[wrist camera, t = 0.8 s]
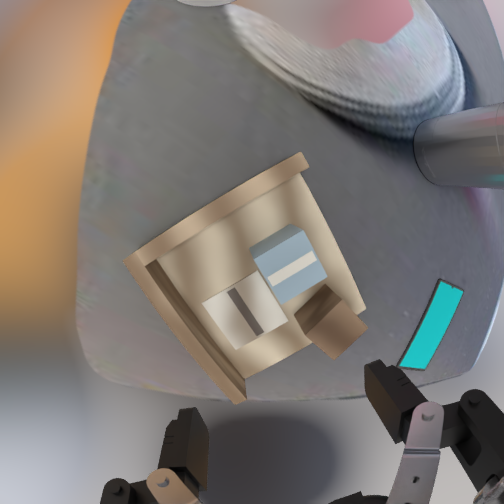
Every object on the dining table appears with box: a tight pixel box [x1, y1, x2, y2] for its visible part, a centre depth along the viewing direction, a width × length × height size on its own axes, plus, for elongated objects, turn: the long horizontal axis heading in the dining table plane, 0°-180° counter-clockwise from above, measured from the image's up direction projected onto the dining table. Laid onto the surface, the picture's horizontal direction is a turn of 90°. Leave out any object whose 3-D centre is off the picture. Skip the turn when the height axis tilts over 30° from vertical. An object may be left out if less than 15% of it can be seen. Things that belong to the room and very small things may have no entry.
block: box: [249, 224, 328, 305], centre depth 27 cm, size 5×5×5 cm
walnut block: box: [294, 284, 368, 360], centre depth 29 cm, size 5×5×5 cm
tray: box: [123, 152, 366, 405], centre depth 29 cm, size 19×20×5 cm
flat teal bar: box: [396, 279, 464, 371], centre depth 36 cm, size 7×1×15 cm
